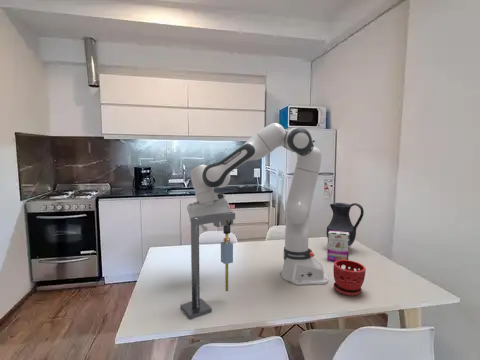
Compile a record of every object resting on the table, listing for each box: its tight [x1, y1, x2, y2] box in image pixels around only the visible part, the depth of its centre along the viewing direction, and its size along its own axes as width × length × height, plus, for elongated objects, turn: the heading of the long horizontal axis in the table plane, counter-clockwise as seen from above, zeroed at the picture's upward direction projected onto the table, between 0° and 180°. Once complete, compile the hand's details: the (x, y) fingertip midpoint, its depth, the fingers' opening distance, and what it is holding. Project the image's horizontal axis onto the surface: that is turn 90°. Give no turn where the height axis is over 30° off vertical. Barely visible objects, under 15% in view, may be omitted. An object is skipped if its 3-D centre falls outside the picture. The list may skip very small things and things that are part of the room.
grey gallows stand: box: [179, 211, 236, 320], centre depth 116 cm, size 22×9×36 cm, turn 124°
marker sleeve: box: [220, 241, 234, 265], centre depth 120 cm, size 4×4×8 cm
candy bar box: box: [326, 231, 350, 263], centre depth 164 cm, size 11×5×16 cm, turn 68°
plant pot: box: [332, 260, 367, 296], centre depth 130 cm, size 13×13×12 cm
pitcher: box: [326, 202, 364, 248], centre depth 179 cm, size 17×21×30 cm
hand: (214, 228), depth 136 cm, fingers open, 8 cm apart
